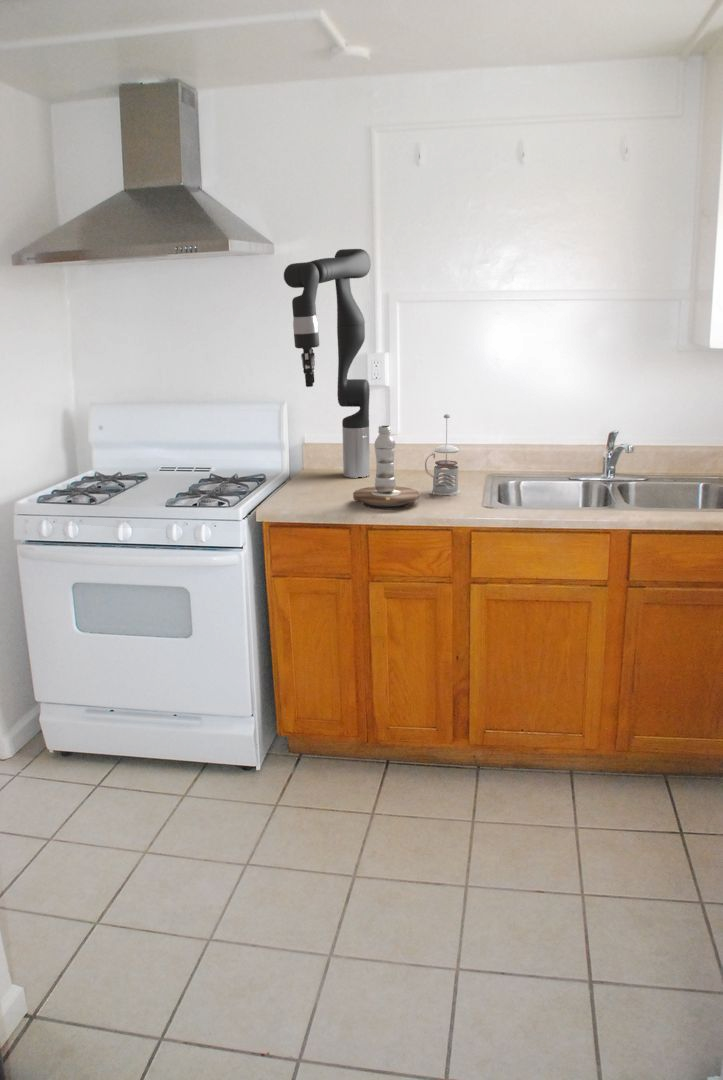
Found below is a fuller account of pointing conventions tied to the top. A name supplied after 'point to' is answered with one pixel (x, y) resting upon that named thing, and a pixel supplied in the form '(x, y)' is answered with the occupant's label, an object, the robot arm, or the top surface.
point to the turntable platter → (386, 496)
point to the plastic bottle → (385, 460)
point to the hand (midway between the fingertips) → (310, 384)
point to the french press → (452, 470)
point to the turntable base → (386, 506)
